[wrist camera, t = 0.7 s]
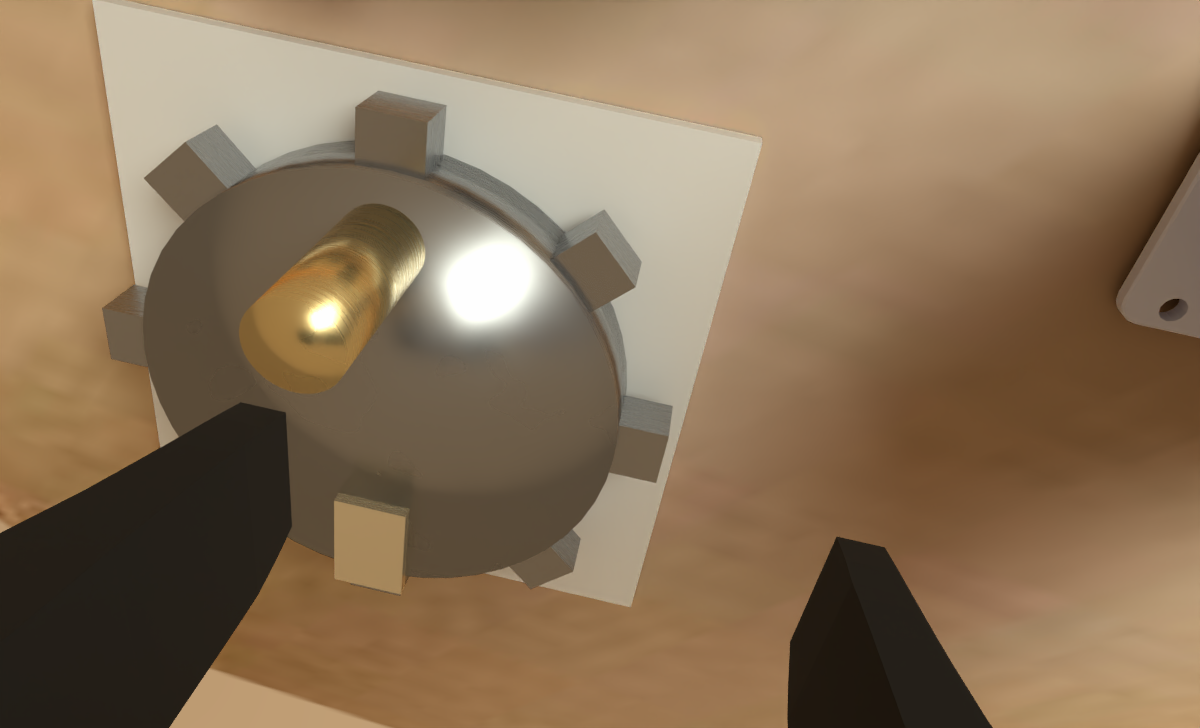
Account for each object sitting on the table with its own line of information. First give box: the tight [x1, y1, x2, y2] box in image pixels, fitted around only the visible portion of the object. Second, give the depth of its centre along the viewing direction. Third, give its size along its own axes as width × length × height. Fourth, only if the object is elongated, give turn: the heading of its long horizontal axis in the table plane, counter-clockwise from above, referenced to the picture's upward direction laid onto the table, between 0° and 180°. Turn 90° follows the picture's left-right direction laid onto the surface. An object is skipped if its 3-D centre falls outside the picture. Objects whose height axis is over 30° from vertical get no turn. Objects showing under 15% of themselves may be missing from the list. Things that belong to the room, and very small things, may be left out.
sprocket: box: [102, 91, 673, 596], centre depth 18 cm, size 13×13×6 cm
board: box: [92, 0, 762, 607], centre depth 21 cm, size 14×14×1 cm
